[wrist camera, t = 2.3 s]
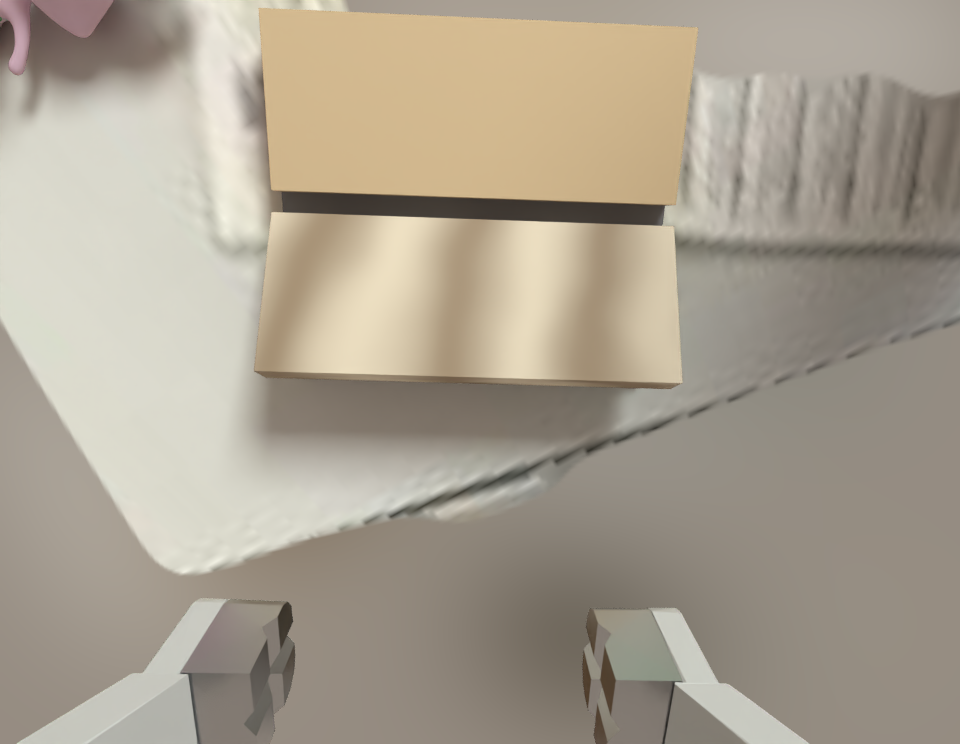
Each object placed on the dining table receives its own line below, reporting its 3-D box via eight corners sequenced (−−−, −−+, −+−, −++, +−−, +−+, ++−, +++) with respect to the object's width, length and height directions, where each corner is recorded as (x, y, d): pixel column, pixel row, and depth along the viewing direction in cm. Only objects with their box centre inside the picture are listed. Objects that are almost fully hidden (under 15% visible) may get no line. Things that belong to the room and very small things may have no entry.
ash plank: (662, 240, 27) (673, 226, 26) (670, 388, 26) (682, 383, 24) (281, 226, 27) (271, 212, 26) (266, 377, 25) (253, 371, 24)
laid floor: (681, 35, 26) (699, 19, 24) (639, 379, 30) (651, 391, 28) (275, 16, 25) (258, -1, 23) (296, 369, 30) (284, 381, 28)
